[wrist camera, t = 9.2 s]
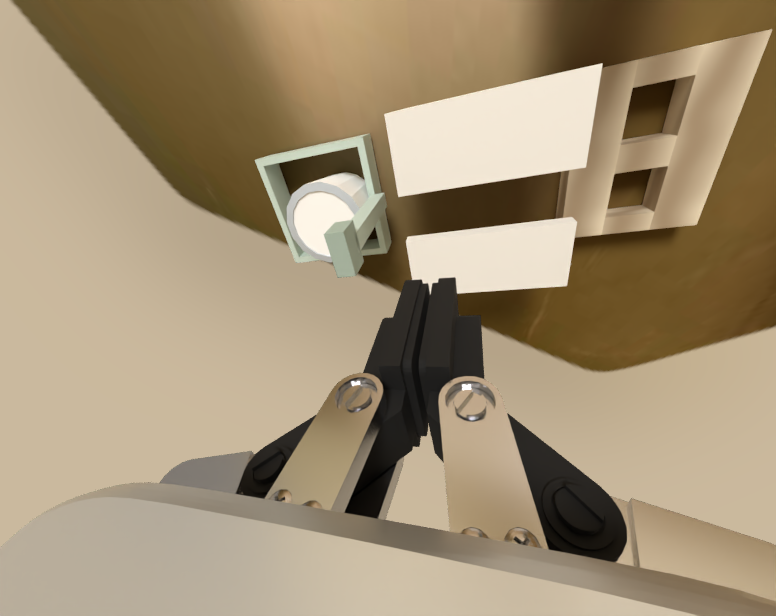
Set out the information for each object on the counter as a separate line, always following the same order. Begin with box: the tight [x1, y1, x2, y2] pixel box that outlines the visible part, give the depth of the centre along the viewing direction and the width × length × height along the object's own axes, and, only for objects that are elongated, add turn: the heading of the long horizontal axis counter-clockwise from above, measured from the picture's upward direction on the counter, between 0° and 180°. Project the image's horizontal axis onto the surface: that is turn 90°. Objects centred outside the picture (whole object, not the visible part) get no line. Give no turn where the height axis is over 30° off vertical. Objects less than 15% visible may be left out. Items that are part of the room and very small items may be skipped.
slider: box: [255, 134, 391, 278], centre depth 24 cm, size 11×10×14 cm
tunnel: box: [384, 63, 603, 294], centre depth 23 cm, size 11×13×10 cm
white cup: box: [287, 172, 369, 263], centre depth 27 cm, size 7×7×7 cm
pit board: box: [556, 29, 772, 238], centre depth 23 cm, size 10×12×2 cm
